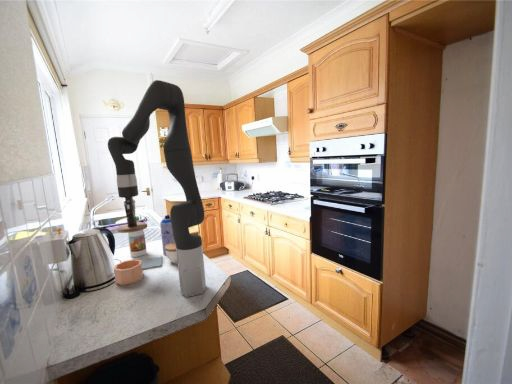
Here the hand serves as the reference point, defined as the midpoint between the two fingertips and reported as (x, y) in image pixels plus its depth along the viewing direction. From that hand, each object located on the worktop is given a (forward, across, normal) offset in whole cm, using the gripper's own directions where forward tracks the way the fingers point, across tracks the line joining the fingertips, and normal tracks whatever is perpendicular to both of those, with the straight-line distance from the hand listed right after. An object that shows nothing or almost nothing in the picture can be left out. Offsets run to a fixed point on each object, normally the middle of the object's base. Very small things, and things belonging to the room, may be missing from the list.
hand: (132, 224), depth 110 cm
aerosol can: (+22, +16, -15) cm, 31 cm away
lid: (+2, 0, 0) cm, 2 cm away
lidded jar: (+22, +4, -17) cm, 28 cm away
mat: (+21, +6, -4) cm, 23 cm away
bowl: (+21, -6, +3) cm, 22 cm away
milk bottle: (+22, +22, +1) cm, 31 cm away
